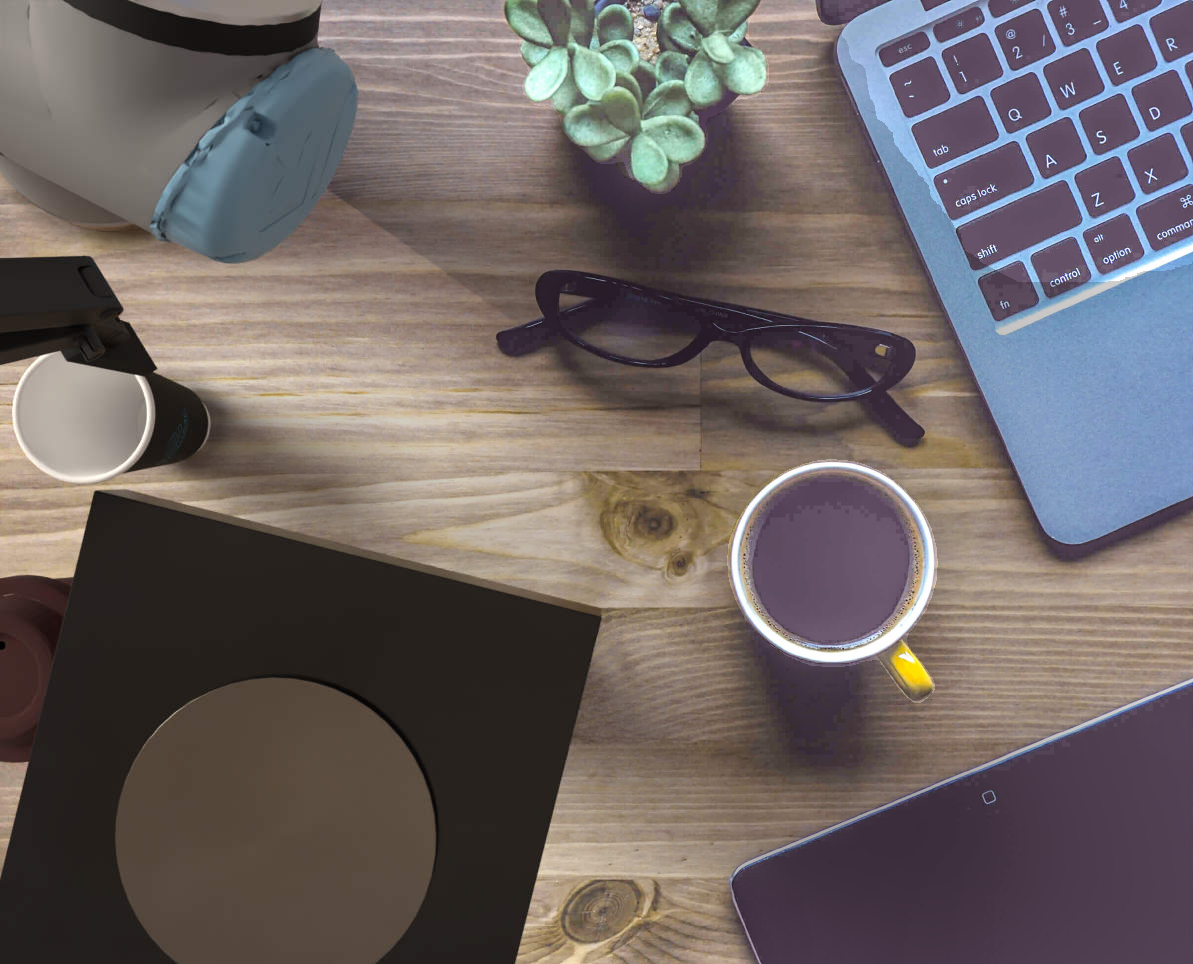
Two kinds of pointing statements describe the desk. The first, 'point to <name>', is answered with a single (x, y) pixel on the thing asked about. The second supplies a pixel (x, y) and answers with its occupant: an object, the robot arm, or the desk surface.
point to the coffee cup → (27, 655)
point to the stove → (286, 752)
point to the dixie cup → (104, 420)
